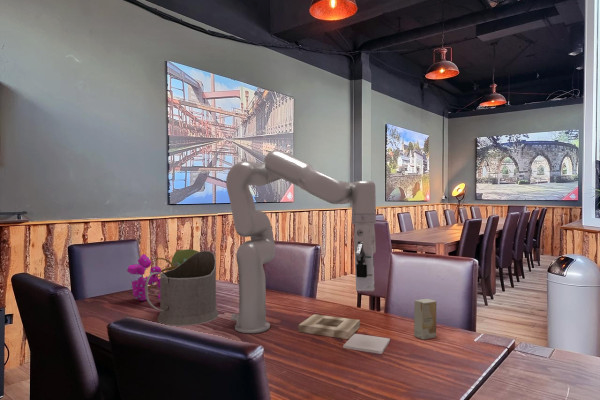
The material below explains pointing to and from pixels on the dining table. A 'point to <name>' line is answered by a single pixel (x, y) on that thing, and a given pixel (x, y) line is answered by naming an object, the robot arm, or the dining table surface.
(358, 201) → the robot arm
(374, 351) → the plate
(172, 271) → the pitcher
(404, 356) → the dining table surface
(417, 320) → the skincare box
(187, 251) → the purple flowering plant
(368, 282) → the syrup box
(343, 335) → the frame
